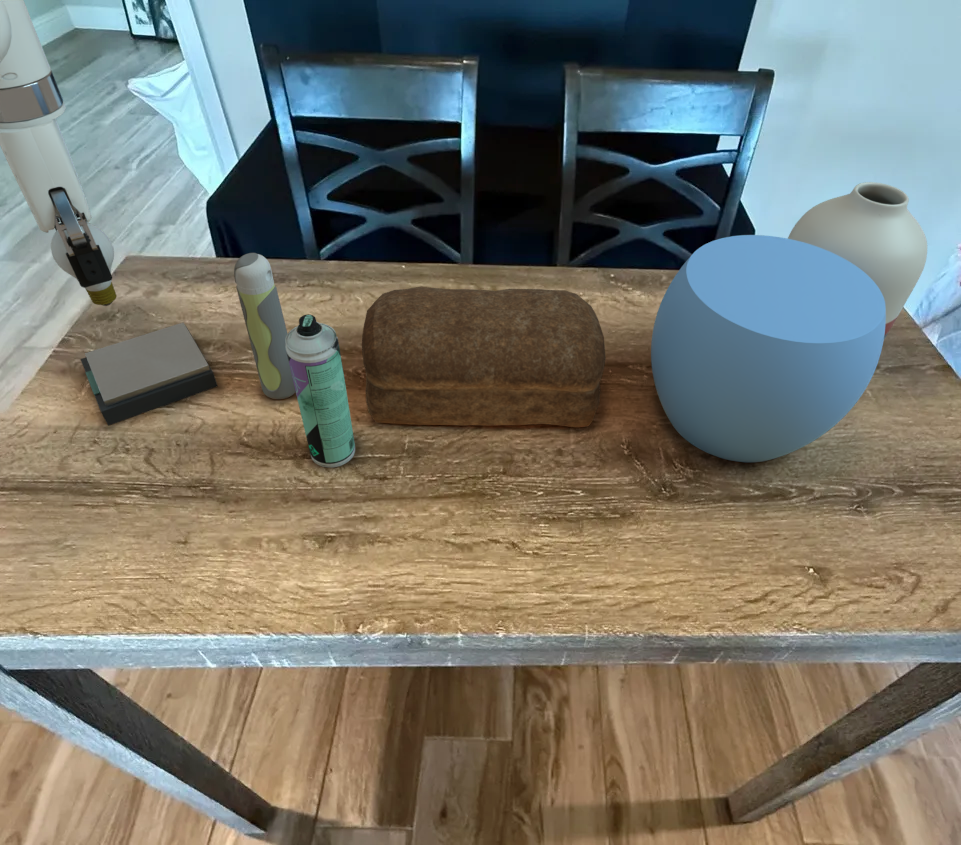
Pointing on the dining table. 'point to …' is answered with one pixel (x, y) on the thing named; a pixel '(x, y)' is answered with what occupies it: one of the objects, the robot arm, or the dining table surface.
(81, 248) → the robot arm
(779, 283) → the blue rounded pouf
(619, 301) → the dining table surface
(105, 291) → the light bulb
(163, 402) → the scale
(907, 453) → the dining table surface
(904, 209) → the vase
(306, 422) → the spray can
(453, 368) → the bread
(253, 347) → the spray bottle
